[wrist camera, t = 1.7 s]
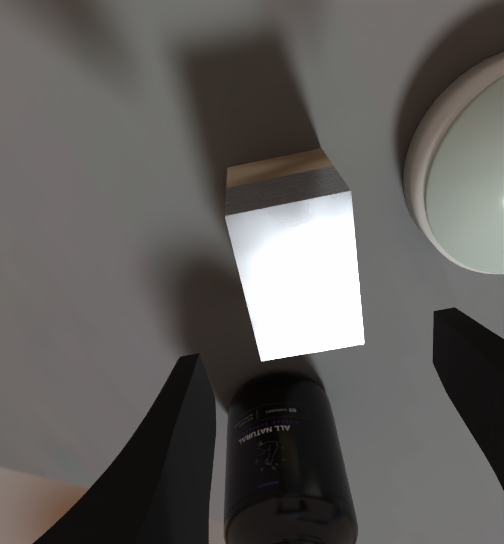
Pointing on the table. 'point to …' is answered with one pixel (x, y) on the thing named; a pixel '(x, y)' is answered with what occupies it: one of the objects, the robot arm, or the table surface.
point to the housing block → (295, 253)
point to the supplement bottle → (285, 466)
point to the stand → (462, 169)
